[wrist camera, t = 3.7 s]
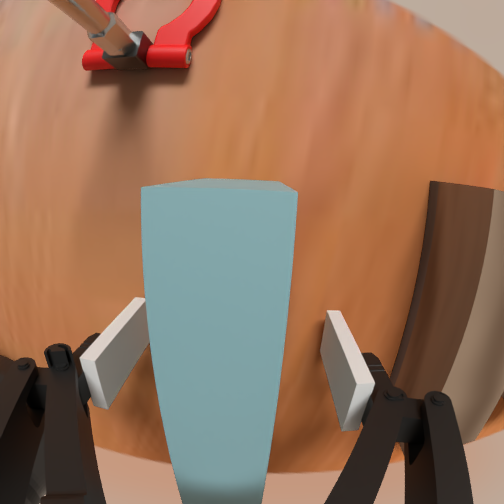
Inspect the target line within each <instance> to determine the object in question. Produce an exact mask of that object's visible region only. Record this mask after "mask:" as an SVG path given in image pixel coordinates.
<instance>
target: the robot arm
mask: <svg viewBox="0 0 504 504" xmlns="http://www.w3.org/2000/svg"><path fill="white" fill-rule="evenodd" d="M149 342H150V340H149V331H148V322H147V312H146V301H145V298H138V297H135V298H134V299H133V300H132V301H131V302H130V304H129V305H128V306H127V307H126V308H125V309H124V310H123V311H122V312H121V313H120V314H119V315H118V316H117V317H116V318H115V319H114V321H113V322H112V323H111V324H110V325H109V326H108V327H107V328H106V329H105V330H104V331H103V332H102V334H100V333H95V334H93V335H91V336H89V337H88V338H87V339H86V340H85V341H84V343H82V344H81V345H80V347H78V349H77V350H76V351H75V352H74V353H73V354H72V351H71V348H70V346H68V345H66V344H60V343H58V344H53V345H51V346H49V347H48V348H46V349H45V351H44V354H45V357H46V361H47V364H48V367H49V368H41V367H37V366H36V363H35V360H33V359H32V358H20V359H18V360H16V361H15V362H14V361H13V360H11V359H9V358H6V357H4V356H1V355H0V504H39V503H40V504H106V501H105V497H104V493H103V488H102V484H101V480H100V475H99V470H98V466H97V460H96V454H95V448H94V442H93V435H92V428H91V420H90V412H89V407H88V404H87V402H88V400H89V399H90V397H91V398H92V402H93V405H94V406H96V407H100V408H104V409H109V407H110V406H111V404H112V402H113V401H114V399H115V397H116V396H117V394H118V392H119V391H120V389H121V387H122V386H123V384H124V382H125V381H126V379H127V378H128V376H129V374H130V373H131V371H132V369H133V368H134V366H135V365H136V363H137V361H138V360H139V358H140V357H141V355H142V353H143V352H144V350H145V349H146V347H147V345H148V344H149ZM320 353H321V357H322V360H323V364H324V368H325V371H326V375H327V378H328V382H329V386H330V390H331V393H332V397H333V401H334V404H335V408H336V412H337V416H338V420H339V424H340V428H341V431H353V430H358V429H359V427H360V424H361V421H362V424H363V429H362V431H361V433H360V436H359V438H358V440H357V442H356V444H355V447H354V449H353V451H352V453H351V455H350V457H349V459H348V461H347V463H346V465H345V467H344V469H343V471H342V473H341V474H340V476H339V478H338V481H337V482H336V484H335V486H334V487H333V489H332V491H331V493H330V495H329V496H328V498H327V500H326V502H325V503H324V504H373V503H374V501H375V498H376V496H377V493H378V491H379V488H380V486H381V483H382V480H383V478H384V475H385V472H386V470H387V467H388V464H389V461H390V458H391V455H392V452H393V449H394V445H395V442H403V443H404V457H405V504H473V497H472V490H471V484H470V478H469V472H468V467H467V462H466V457H465V452H464V448H463V443H462V439H461V435H460V431H459V427H458V423H457V419H456V415H455V412H454V408H453V405H452V401H451V399H450V397H449V396H448V395H446V394H445V393H442V392H439V391H430V392H428V393H427V394H426V395H425V396H424V399H414V398H408V397H407V395H406V393H405V392H404V391H403V390H402V389H400V388H397V387H394V386H393V384H392V383H391V381H390V379H389V377H388V375H387V373H386V371H384V368H383V366H382V364H381V362H380V360H379V359H378V358H377V357H376V356H375V355H374V354H372V353H361V352H360V350H359V348H358V346H357V344H356V342H355V340H354V338H353V336H352V334H351V332H350V330H349V328H348V326H347V324H346V322H345V320H344V318H343V316H342V314H341V312H340V311H334V310H327V312H326V319H325V325H324V331H323V337H322V343H321V348H320ZM45 494H46V496H44V495H45Z"/></svg>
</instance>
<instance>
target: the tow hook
mask: <svg viewBox="0 0 504 504" xmlns="http://www.w3.org/2000/svg"><path fill="white" fill-rule="evenodd" d="M48 1H50V2H51V3H52V4H54V5H55V6H56V7H58V8H59V9H60V10H61V11H63V12H64V13H65V14H67V15H68V16H69V17H71V18H72V19H73V20H74V21H76V22H77V23H78V24H79V25H81V26H82V27H83V28H84V29H86V30H87V33H88V37H89V39H90V40H91V41H92V42H93V44H92V47H91V50H87V51H86V52H85V53H84V55H83V59H82V65H83V68H84V69H85V70H86V71H89V70H101V69H117V70H128V69H150V68H151V67H166V68H188V67H189V65H190V62H191V58H192V48H191V46H190V43H191V40H192V37H193V36H195V35H196V34H198V33H199V32H200V31H201V30H202V29H203V28H204V27H205V26H206V25H207V24H208V23H209V22H210V21H211V20H212V19H213V17H214V15H215V13H216V12H217V10H218V8H219V7H220V3H221V0H193V1H192V2H191V4H190V6H189V7H188V8H187V9H186V10H185V11H184V12H183V13H182V14H181V15H180V16H179V17H177V18H176V19H175V20H173V21H172V22H170V23H168V24H166V25H164V26H162V27H161V28H160V29H159V30H158V32H157V35H156V39H155V42H154V45H153V43H152V42H151V41H150V40H149V38H148V37H147V36H146V35H145V34H144V32H143V31H137V32H131V31H130V30H129V29H128V28H127V26H126V25H125V24H124V23H123V22H122V21H121V20H120V19H119V18H118V16H117V15H116V14H115V10H116V7H117V4H118V2H119V1H120V0H96V1H95V0H48Z"/></svg>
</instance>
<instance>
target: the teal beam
mask: <svg viewBox="0 0 504 504" xmlns="http://www.w3.org/2000/svg"><path fill="white" fill-rule="evenodd" d="M297 199H298V192H296V191H295V190H293V189H291V188H290V187H288V186H286V185H284V184H283V183H281V182H279V181H262V180H240V179H209V178H204V179H196V180H188V181H180V182H173V183H166V184H159V185H153V186H146V187H141V231H142V257H143V274H144V289H145V301H146V312H147V322H148V331H149V340H150V348H151V355H152V362H153V369H154V376H155V382H156V389H157V394H158V400H159V406H160V411H161V416H162V422H163V426H164V431H165V436H166V441H167V445H168V450H169V454H170V458H171V462H172V466H173V470H174V474H175V478H176V481H177V485H178V489H179V492H180V496H181V500H182V503H183V504H261V503H262V497H263V491H264V485H265V480H266V474H267V468H268V462H269V455H270V449H271V442H272V436H273V429H274V422H275V415H276V408H277V400H278V393H279V385H280V377H281V369H282V361H283V352H284V344H285V335H286V326H287V316H288V306H289V296H290V286H291V275H292V264H293V252H294V240H295V227H296V213H297Z"/></svg>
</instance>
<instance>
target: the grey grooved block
mask: <svg viewBox="0 0 504 504" xmlns="http://www.w3.org/2000/svg"><path fill="white" fill-rule="evenodd" d="M390 381H391V383H392V384H393V386H394V387H397V388H400V389H402V390H403V391H404V392H405V393H406V395H407V397H408V398H414V399H424V396H425V395H426V394H427V393H428V392H430V391H439V392H442V393H445V394H446V395H448V396H449V397H450V399H451V401H452V405H453V408H454V412H455V415H456V419H457V423H458V427H459V431H460V435H461V439H462V443H463V444H466V443H469V442H472V441H475V439H476V438H477V436H478V435H479V433H480V431H481V430H482V428H483V427H484V425H485V423H486V422H487V420H488V418H489V417H490V415H491V413H492V412H493V410H494V408H495V406H496V404H497V403H498V401H499V399H500V397H501V396H502V397H503V398H504V192H503V191H499V190H495V189H489V188H483V187H476V186H469V185H462V184H454V183H446V182H437V181H430V193H429V203H428V212H427V221H426V228H425V235H424V242H423V248H422V254H421V260H420V265H419V271H418V276H417V281H416V285H415V290H414V295H413V299H412V303H411V307H410V312H409V316H408V319H407V323H406V327H405V331H404V334H403V338H402V341H401V345H400V348H399V352H398V355H397V358H396V361H395V364H394V367H393V371H392V374H391V377H390ZM399 444H400V447H401V449H402V451H403V454H404V443H403V442H399Z"/></svg>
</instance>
